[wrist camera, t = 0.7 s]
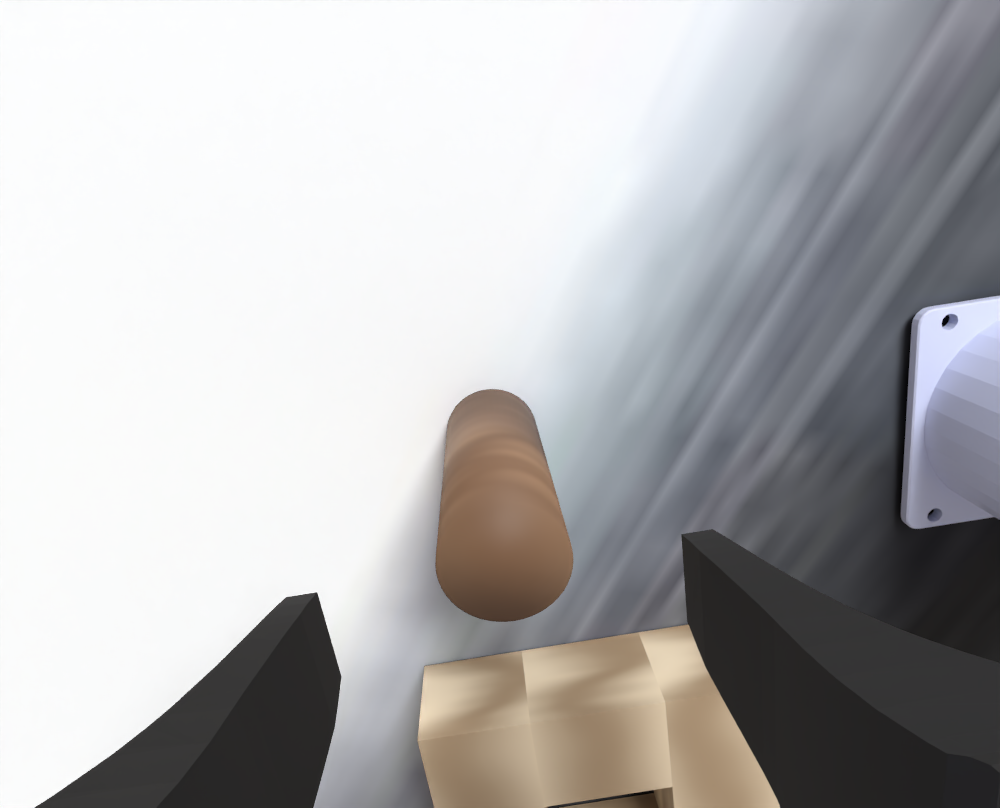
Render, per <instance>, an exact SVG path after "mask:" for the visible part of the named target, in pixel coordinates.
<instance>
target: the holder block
mask: <svg viewBox="0 0 1000 808" xmlns="http://www.w3.org/2000/svg"><path fill="white" fill-rule="evenodd" d="M418 745H419V749H420V753H421V757H422V761H423V765H424V769H425V773H426V777H427V781H428V785H429V789H430V793H431V797H432V801H433V805H434V808H548V806H554V805H560V804H567V803H573V802H580V801H586V800H592V799H599V798H605V797H612V796H618V795H624V794H631V793H637V792H643V791H650V790H654V793H650V794H644V795H637V796H631V797H624V798H618V799H612V800H605V801H599V802H592V803H586V804H580V805H573V806H567V807H561V808H780V805H779V803H778V801H777V798H776V796H775V794H774V792H773V790H772V788H771V786H770V784H769V782H768V780H767V779H766V777H765V775H764V773H763V771H762V769H761V767H760V765H759V764H758V762H757V760H756V758H755V756H754V755H753V753H752V751H751V749H750V747H749V746H748V744H747V742H746V740H745V738H744V737H743V735H742V733H741V731H740V729H739V728H738V726H737V724H736V722H735V720H734V719H733V717H732V715H731V713H730V711H729V710H728V708H727V706H726V704H725V702H724V701H723V699H722V697H721V695H720V693H719V691H718V690H717V688H716V686H715V684H714V682H713V680H712V679H711V677H710V675H709V673H708V671H707V669H706V667H705V665H704V662H703V660H702V657H701V655H700V652H699V650H698V648H697V645H696V642H695V640H694V637H693V635H692V632H691V630H690V627H689V625H682V626H676V627H670V628H663V629H657V630H651V631H644V632H638V633H632V634H625V635H619V636H612V637H606V638H600V639H593V640H587V641H581V642H574V643H568V644H562V645H555V646H549V647H543V648H536V649H530V650H524V651H517V652H511V653H504V654H498V655H492V656H485V657H479V658H473V659H466V660H460V661H454V662H447V663H441V664H435V665H428V666H424V677H423V688H422V699H421V710H420V720H419V731H418Z"/></svg>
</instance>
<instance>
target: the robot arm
mask: <svg viewBox="0 0 1000 808" xmlns="http://www.w3.org/2000/svg"><path fill="white" fill-rule="evenodd" d="M948 314H949V321H948V323H947V324H946V325H945V326H943V327H942V320H943V318H944V317H945V316H946V315H948ZM932 509H934V512H933V513H932V514H931V515H929V516H928V513H929V512H930V511H931V510H932ZM991 517H995V518H997V519H999V520H1000V296H994V297H988V298H981V299H975V300H969V301H963V302H956V303H950V304H944V305H937V306H931V307H927V308H924V309H921V310H920V311H919V312H918V313H917V314H916V315H915V317H914V318H913V321H912V328H911V345H910V362H909V379H908V397H907V414H906V431H905V448H904V465H903V482H902V500H901V519H902V521H903V522H904V523H905V524H906V525H908V526H909V527H911V528H913V529H922V528H928V527H934V526H941V525H947V524H953V523H960V522H966V521H972V520H979V519H985V518H991ZM682 548H683V563H684V578H685V593H686V608H687V622H688V624H689V627H690V630H691V632H692V635H693V637H694V640H695V642H696V645H697V648H698V650H699V652H700V655H701V657H702V660H703V662H704V665H705V667H706V669H707V671H708V673H709V675H710V677H711V679H712V680H713V682H714V684H715V686H716V688H717V690H718V691H719V693H720V695H721V697H722V699H723V701H724V702H725V704H726V706H727V708H728V710H729V711H730V713H731V715H732V717H733V719H734V720H735V722H736V724H737V726H738V728H739V729H740V731H741V733H742V735H743V737H744V738H745V740H746V742H747V744H748V746H749V747H750V749H751V751H752V753H753V755H754V756H755V758H756V760H757V762H758V764H759V765H760V767H761V769H762V771H763V773H764V775H765V777H766V779H767V780H768V782H769V784H770V786H771V788H772V790H773V792H774V794H775V796H776V798H777V801H778V803H779V805H780V807H781V808H1000V663H999V662H995V661H992V660H989V659H985V658H982V657H979V656H975V655H972V654H969V653H966V652H963V651H960V650H957V649H954V648H951V647H948V646H945V645H942V644H939V643H937V642H934V641H931V640H928V639H925V638H922V637H920V636H917V635H914V634H912V633H909V632H906V631H904V630H901V629H899V628H896V627H894V626H892V625H889V624H887V623H885V622H882V621H880V620H877V619H875V618H873V617H870V616H868V615H866V614H863V613H861V612H859V611H857V610H855V609H853V608H850V607H848V606H846V605H844V604H842V603H840V602H838V601H836V600H834V599H832V598H830V597H828V596H826V595H824V594H822V593H820V592H819V591H817V590H815V589H813V588H811V587H809V586H807V585H805V584H804V583H802V582H800V581H798V580H796V579H795V578H793V577H791V576H789V575H787V574H786V573H784V572H782V571H781V570H779V569H777V568H775V567H774V566H772V565H770V564H769V563H767V562H765V561H764V560H762V559H761V558H759V557H757V556H756V555H754V554H752V553H751V552H749V551H748V550H746V549H744V548H743V547H741V546H739V545H738V544H736V543H735V542H733V541H731V540H730V539H728V538H726V537H725V536H723V535H721V534H720V533H718V532H716V531H714V530H713V529H712V530H706V531H700V532H693V533H687V534H682ZM340 683H341V674H340V671H339V667H338V664H337V660H336V657H335V653H334V650H333V646H332V643H331V639H330V636H329V632H328V629H327V625H326V622H325V618H324V615H323V611H322V608H321V604H320V601H319V597H318V594H317V593H310V594H304V595H298V596H292V597H286V598H285V599H284V600H283V601H282V602H281V603H279V604H278V605H277V606H276V607H275V608H274V609H273V610H272V611H271V612H270V613H269V614H268V615H267V616H266V617H265V618H264V619H263V620H262V621H261V622H260V623H259V624H258V625H257V626H256V627H255V628H254V629H253V630H252V631H251V632H250V633H249V634H248V635H247V636H246V637H245V638H244V639H243V640H242V641H241V642H240V643H239V644H238V645H237V646H236V647H235V648H234V649H233V650H232V651H231V652H230V653H229V654H228V655H227V656H226V657H225V658H224V659H223V660H222V661H221V662H220V663H219V664H218V665H217V666H216V667H215V668H214V669H213V670H211V671H210V672H209V673H208V674H207V675H206V676H205V677H204V678H203V679H202V680H201V681H199V682H198V683H197V684H196V685H195V686H194V687H193V688H192V689H191V690H190V691H189V692H187V693H186V694H185V695H184V696H183V697H182V698H181V699H180V700H179V701H178V702H177V703H175V704H174V705H173V706H172V707H171V708H170V709H169V710H167V711H166V712H165V713H164V714H163V715H162V716H160V717H159V718H158V719H157V720H156V721H154V722H153V723H152V724H151V725H150V726H148V727H147V728H146V729H145V730H143V731H142V732H141V733H139V734H138V735H137V736H136V737H134V738H133V739H132V740H131V741H129V742H128V743H127V744H125V745H124V746H123V747H122V748H120V749H119V750H118V751H116V752H115V753H114V754H112V755H111V756H110V757H108V758H107V759H105V760H104V761H103V762H101V763H100V764H98V765H97V766H95V767H94V768H92V769H91V770H90V771H88V772H87V773H85V774H84V775H82V776H81V777H80V778H78V779H77V780H75V781H74V782H72V783H71V784H69V785H68V786H67V787H65V788H64V789H62V790H61V791H59V792H58V793H57V794H55V795H54V796H52V797H51V798H49V799H47V800H46V801H44V802H43V803H41V804H40V805H38V806H36V807H35V808H313V806H314V803H315V799H316V795H317V792H318V788H319V784H320V781H321V777H322V773H323V770H324V766H325V762H326V758H327V755H328V751H329V747H330V743H331V739H332V735H333V731H334V727H335V721H336V714H337V707H338V699H339V691H340Z"/></svg>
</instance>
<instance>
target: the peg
mask: <svg viewBox="0 0 1000 808" xmlns="http://www.w3.org/2000/svg"><path fill="white" fill-rule="evenodd" d="M572 569H573V552H572V547H571V543H570V539H569V536H568V533H567V529H566V526H565V522H564V519H563V515H562V512H561V508H560V505H559V502H558V498H557V495H556V491H555V488H554V484H553V481H552V477H551V474H550V470H549V467H548V464H547V460H546V457H545V453H544V450H543V446H542V443H541V439H540V436H539V433H538V429H537V426H536V422H535V419H534V416H533V414H532V412H531V410H530V409H529V407H528V406H527V405H526V404H525V402H524V401H522V400H521V399H520V398H519V397H517V396H515V395H514V394H512V393H509V392H506V391H503V390H496V389H489V390H482V391H478V392H475V393H473V394H471V395H469V396H467V397H466V398H464V399H463V400H462V401H461V402H460V403H459V404H458V405H457V406H456V407H455V409H454V410H453V412H452V414H451V416H450V418H449V421H448V427H447V437H446V448H445V459H444V471H443V482H442V493H441V504H440V516H439V527H438V538H437V550H436V574H437V578H438V581H439V584H440V586H441V588H442V590H443V591H444V593H445V594H446V596H447V597H448V598H449V599H450V601H451V602H452V603H454V604H455V605H456V606H457V607H458V608H460V609H461V610H463V611H464V612H466V613H468V614H470V615H472V616H474V617H477V618H480V619H484V620H488V621H496V622H507V621H516V620H520V619H524V618H527V617H530V616H533V615H535V614H537V613H539V612H541V611H542V610H544V609H546V608H547V607H548V606H550V605H551V604H552V603H553V602H554V601H555V600H556V599H557V598H558V597H559V596H560V595H561V593H562V592H563V591H564V589H565V587H566V586H567V584H568V582H569V579H570V577H571V573H572Z"/></svg>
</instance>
